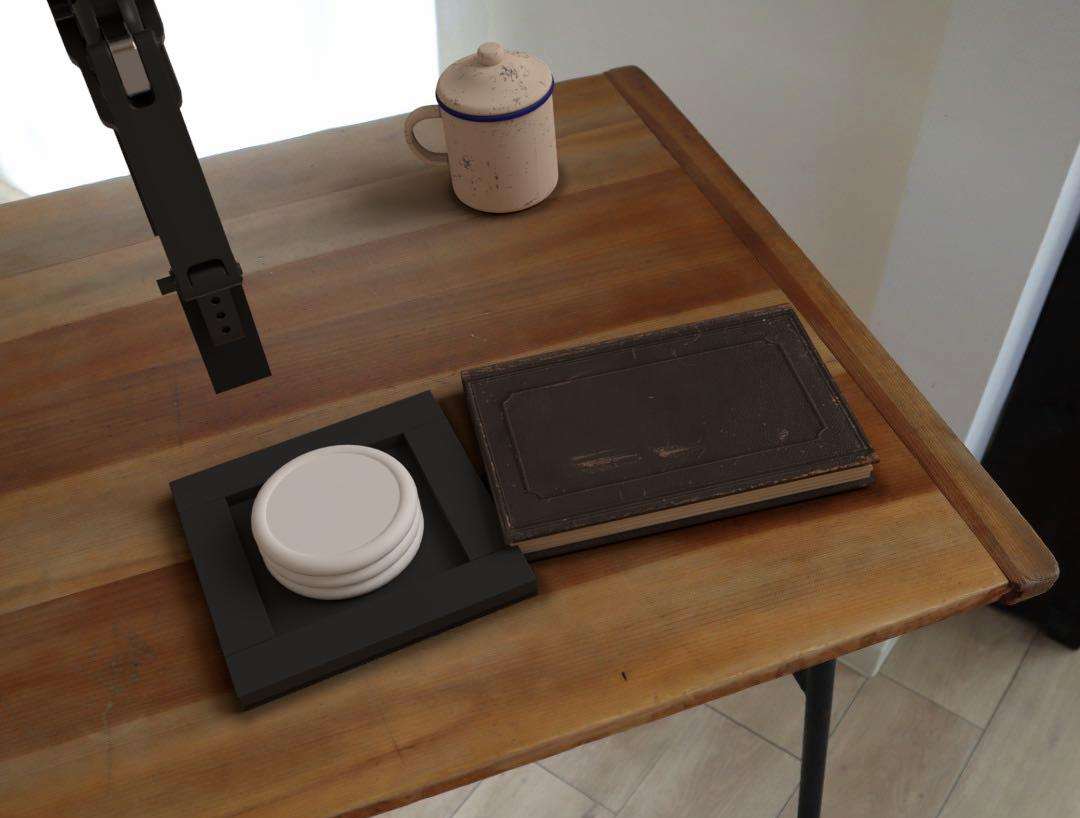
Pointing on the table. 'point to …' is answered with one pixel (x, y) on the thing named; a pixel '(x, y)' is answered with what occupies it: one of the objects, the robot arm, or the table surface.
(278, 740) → the table surface
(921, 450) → the table surface
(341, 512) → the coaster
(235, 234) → the table surface
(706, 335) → the hardcover book
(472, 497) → the base pad
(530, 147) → the teacup with lid
